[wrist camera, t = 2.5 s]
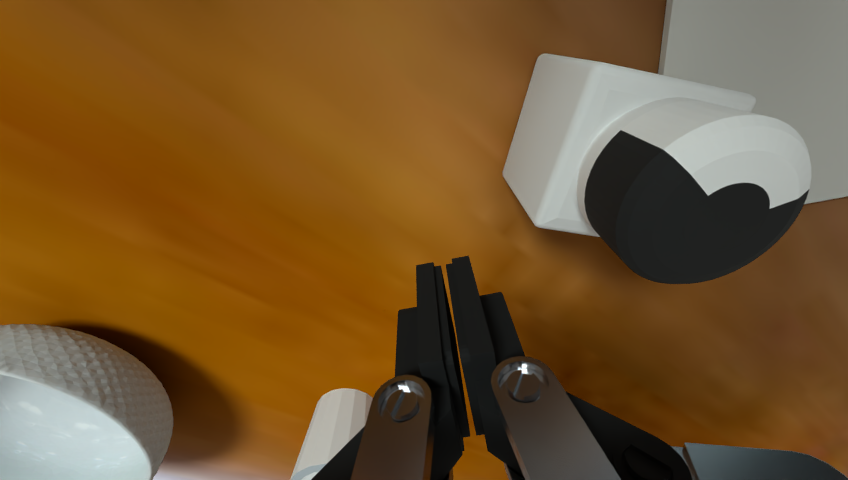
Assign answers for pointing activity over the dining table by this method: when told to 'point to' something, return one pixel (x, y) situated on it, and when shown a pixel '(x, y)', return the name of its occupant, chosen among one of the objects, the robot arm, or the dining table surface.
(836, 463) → the dining table surface
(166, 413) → the cereal bowl
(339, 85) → the dining table surface
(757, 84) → the mat
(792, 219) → the medicine bottle
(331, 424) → the shot glass
